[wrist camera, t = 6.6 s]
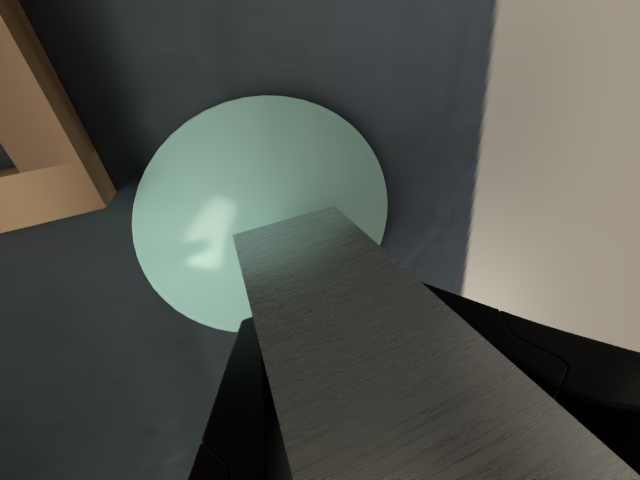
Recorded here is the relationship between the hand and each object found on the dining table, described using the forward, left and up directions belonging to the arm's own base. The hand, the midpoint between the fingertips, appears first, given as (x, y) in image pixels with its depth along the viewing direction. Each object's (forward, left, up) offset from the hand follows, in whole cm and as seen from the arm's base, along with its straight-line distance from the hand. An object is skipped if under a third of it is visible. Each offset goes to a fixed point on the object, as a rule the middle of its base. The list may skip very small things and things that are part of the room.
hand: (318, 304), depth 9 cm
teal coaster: (0, 0, -6) cm, 6 cm away
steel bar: (0, 0, -2) cm, 3 cm away
